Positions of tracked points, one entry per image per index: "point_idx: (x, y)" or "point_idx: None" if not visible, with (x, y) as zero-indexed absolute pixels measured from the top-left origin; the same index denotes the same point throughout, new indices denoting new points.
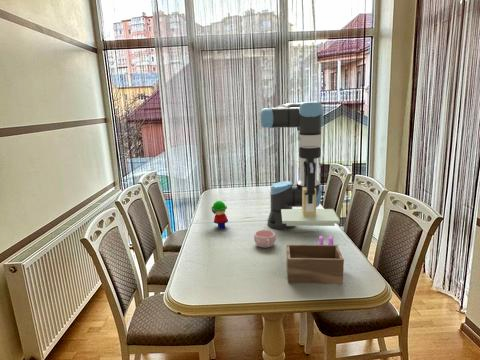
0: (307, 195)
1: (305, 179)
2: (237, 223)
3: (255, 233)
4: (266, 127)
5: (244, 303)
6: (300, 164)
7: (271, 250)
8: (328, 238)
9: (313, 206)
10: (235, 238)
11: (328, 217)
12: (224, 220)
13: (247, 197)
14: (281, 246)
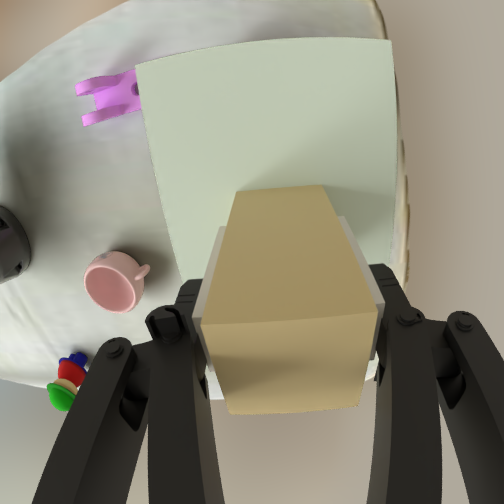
0: (372, 344)
1: (220, 479)
2: (46, 331)
3: (118, 312)
4: None
5: (406, 281)
6: None
7: (147, 251)
8: (80, 95)
9: (354, 237)
10: (114, 332)
11: (335, 101)
12: (74, 367)
13: None
14: (115, 228)
